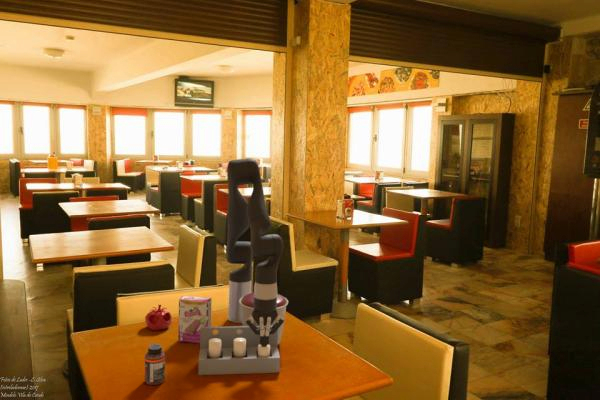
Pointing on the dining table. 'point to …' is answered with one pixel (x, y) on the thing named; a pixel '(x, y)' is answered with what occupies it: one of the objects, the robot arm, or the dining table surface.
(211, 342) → the button
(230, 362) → the console
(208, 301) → the candy bar box
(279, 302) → the canister
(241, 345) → the middle button
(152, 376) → the supplement bottle
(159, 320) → the pomegranate
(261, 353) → the button
